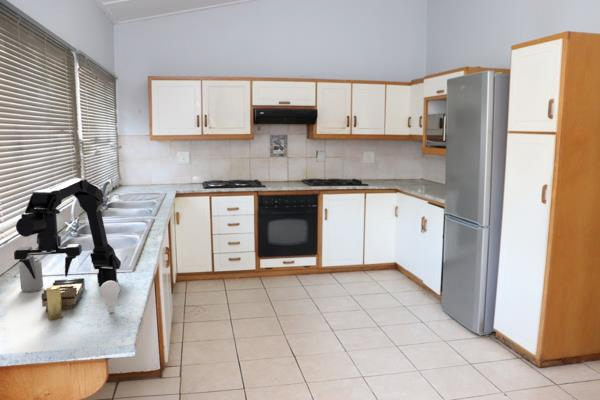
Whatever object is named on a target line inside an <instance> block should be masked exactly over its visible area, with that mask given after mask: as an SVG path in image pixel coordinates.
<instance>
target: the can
mask: <svg viewBox="0 0 600 400" xmlns="http://www.w3.org/2000/svg"><path fill="white" fill-rule="evenodd" d="M34 266H35V272H36V279H34V278H33V277H32V275H31V273H30V272H29V270H28V268H27V267H26V266H25V265H24V263H23V262H19V263H18V270H19V271H18V272H19V280H20V291H21V290H22V291H23V292H24V293H34V292H38V291H40V290H41V289H42V288H43V287H44V279H43V267H42V261H41V260H40V258H39V257H37V256H36V257H35V256H34Z"/></svg>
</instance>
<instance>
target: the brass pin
mask: <svg viewBox="0 0 600 400" xmlns="http://www.w3.org/2000/svg"><path fill="white" fill-rule="evenodd" d="M45 290H46V291H47V303H48V312H47V314H48V320H49V321H59V320H60V319H62V318H63V311H62V304H61V291H60V287H59V286H54V287H52V286H49V287H46V289H45Z"/></svg>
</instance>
